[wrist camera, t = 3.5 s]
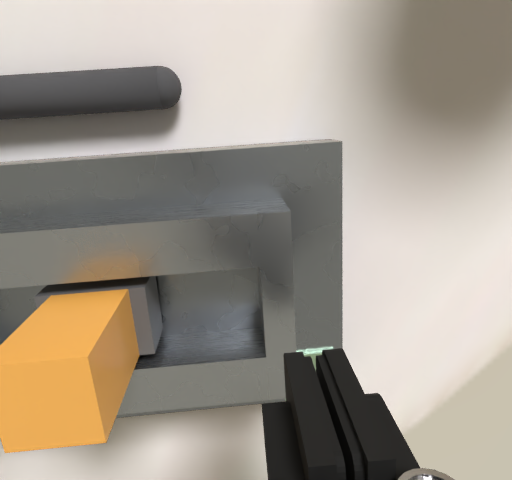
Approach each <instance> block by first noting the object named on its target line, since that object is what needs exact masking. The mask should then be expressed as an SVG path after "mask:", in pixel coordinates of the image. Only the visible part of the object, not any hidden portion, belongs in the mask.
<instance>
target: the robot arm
mask: <svg viewBox="0 0 512 480" xmlns="http://www.w3.org/2000/svg"><path fill="white" fill-rule="evenodd" d="M283 357H284V376H285V393H286V402H275V403H264V404H262V413H263V426H264V438H265V450H266V462H267V473H268V480H454V479H453V478H451V477H450V476H448V475H446V474H444V473H442V472H439V471H436V470H432V469H426V468H420V467H419V465H418V463H417V461H416V460H415V457H414V456H413V454H412V452H411V450H410V448H409V446H408V445H407V443H406V441H405V439H404V437H403V435H402V433H401V432H400V430H399V428H398V426H397V424H396V422H395V421H394V419H393V417H392V415H391V413H390V411H389V410H388V408H387V406H386V404H385V402H384V400H383V398H382V397H381V396H380V394H378V393H374V394H364V392H363V390H362V388H361V386H360V383H359V381H358V379H357V377H356V375H355V373H354V371H353V369H352V367H351V365H350V363H349V361H348V359H347V357H346V355H345V352H344V350H343V349H342V348H337V349H326V350H322V355H317V356H316V371H315V368H314V364H313V361H312V358H311V356H305V357H304V354H303V352H291V353H284V355H283Z"/></svg>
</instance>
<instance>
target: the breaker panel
mask: <svg viewBox="0 0 512 480" xmlns="http://www.w3.org/2000/svg"><path fill="white" fill-rule="evenodd" d="M148 276H156V283H157V290H158V297H159V303H160V310H161V317H162V323H163V330H162V333H161V337H160V340H159V343H158V346H157V349H156V352H155V354H146V355H139V358H138V361H137V363H136V366H135V368H134V371H133V374H132V376H131V379H130V382H129V384H128V387H127V389H126V392H125V395H124V397H123V400H122V403H121V405H120V408H119V410H118V413H117V416H116V418H120V417H131V416H141V415H151V414H161V413H171V412H181V411H191V410H201V409H212V408H222V407H232V406H242V405H252V404H262V403H272V402H283V401H286V393H285V376H284V357H283V355H284V353H291V352H303V354H304V357H305V356H311V358H312V361H313V364H314V368H315V371H316V356H317V355H322V350H326V349H337V348H342V141H337V140H332V139H325V140H311V141H296V142H282V143H268V144H254V145H239V146H225V147H211V148H197V149H182V150H168V151H154V152H140V153H125V154H111V155H97V156H83V157H68V158H54V159H40V160H26V161H11V162H0V345H1V344H2V343H3V342H4V341H5V340H6V339H7V338H8V337H9V336H10V335H11V334H12V333H13V332H14V331H15V330H16V329H17V328H18V327H19V326H20V325H21V324H22V323H23V322H24V321H25V320H26V319H27V318H28V317H29V316H30V315H31V314H33V313H34V312H35V311H36V310H37V307H36V303H35V299H34V297H35V296H36V295H37V294H38V293H39V292H40V291H41V290H42V289H43V288H44V287H46V286H47V285H53V284H64V283H76V282H88V281H100V280H112V279H124V278H136V277H148Z"/></svg>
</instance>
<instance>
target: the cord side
mask: <svg viewBox="0 0 512 480" xmlns="http://www.w3.org/2000/svg"><path fill="white" fill-rule="evenodd" d="M180 95H181V83H180V80H179V78H178V76H177V75H176V74H175V73H174V72H173V71H172V70H171V69H169V68H167V67H163V66H151V67H134V68H118V69H101V70H85V71H68V72H52V73H36V74H19V75H3V76H0V120H2V119H17V118H33V117H48V116H63V115H78V114H94V113H109V112H124V111H139V110H154V109H166V108H169V107H172V106H173V105H175V104H176V103H177V102H178V100H179V98H180Z"/></svg>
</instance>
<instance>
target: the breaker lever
mask: <svg viewBox="0 0 512 480" xmlns="http://www.w3.org/2000/svg"><path fill="white" fill-rule="evenodd" d="M34 299H35V303H36V307H37V310H36V311H35V312H34V313H33V314H31V315H30V316H29V317H28V318H27V319H26V320H25V321H24V322H23V323H22V324H21V325H20V326H19V327H18V328H17V329H16V330H15V331H14V332H13V333H12V334H11V335H10V336H9V337H8V338H7V339H6V340H5V341H4V342H3V343H2V344H1V345H0V438H1V442H2V445H3V448H4V451H5V453H10V452H20V451H30V450H40V449H50V448H60V447H69V446H79V445H89V444H99V443H106V442H107V439H108V437H109V434H110V432H111V429H112V426H113V424H114V421H115V418H116V416H117V413H118V410H119V408H120V405H121V403H122V400H123V397H124V395H125V392H126V389H127V387H128V384H129V382H130V379H131V376H132V374H133V371H134V368H135V366H136V363H137V361H138V358H139V355H146V354H155V352H156V349H157V346H158V343H159V340H160V337H161V333H162V330H163V323H162V317H161V310H160V303H159V297H158V290H157V283H156V276H148V277H136V278H124V279H112V280H100V281H88V282H76V283H64V284H53V285H47V286H46V287H44V288H43V289H42V290H41V291H40V292H39V293H38V294H37V295H36V296H35V297H34Z"/></svg>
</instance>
